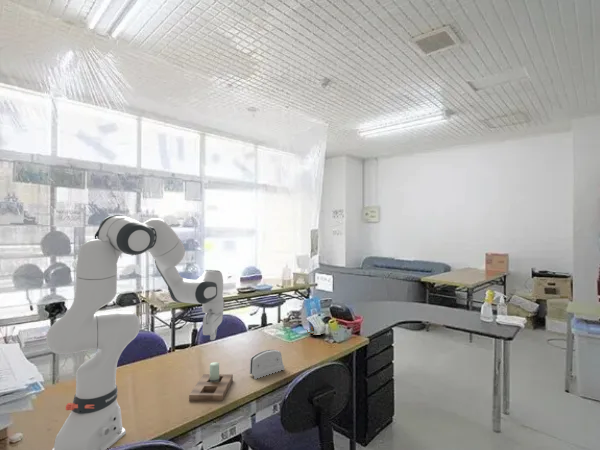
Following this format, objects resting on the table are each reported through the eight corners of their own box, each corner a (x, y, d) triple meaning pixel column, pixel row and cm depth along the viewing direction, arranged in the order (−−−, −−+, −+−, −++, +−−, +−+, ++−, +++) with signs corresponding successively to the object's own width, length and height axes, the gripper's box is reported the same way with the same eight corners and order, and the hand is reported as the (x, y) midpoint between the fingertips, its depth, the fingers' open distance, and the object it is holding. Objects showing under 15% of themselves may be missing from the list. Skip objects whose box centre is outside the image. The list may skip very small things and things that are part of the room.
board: (222, 401, 130) (222, 395, 130) (189, 401, 130) (189, 395, 130) (232, 380, 148) (232, 374, 148) (203, 379, 148) (203, 374, 148)
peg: (218, 387, 141) (218, 366, 141) (208, 387, 141) (208, 366, 141) (220, 382, 145) (220, 362, 145) (210, 382, 145) (210, 362, 145)
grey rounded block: (254, 379, 148) (253, 356, 149) (249, 376, 152) (247, 354, 153) (285, 369, 158) (283, 348, 159) (279, 367, 162) (278, 346, 163)
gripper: (214, 313, 134) (214, 347, 134) (225, 301, 154) (225, 331, 154) (198, 313, 134) (198, 347, 134) (211, 302, 154) (211, 332, 154)
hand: (213, 339), depth 144 cm, fingers closed
